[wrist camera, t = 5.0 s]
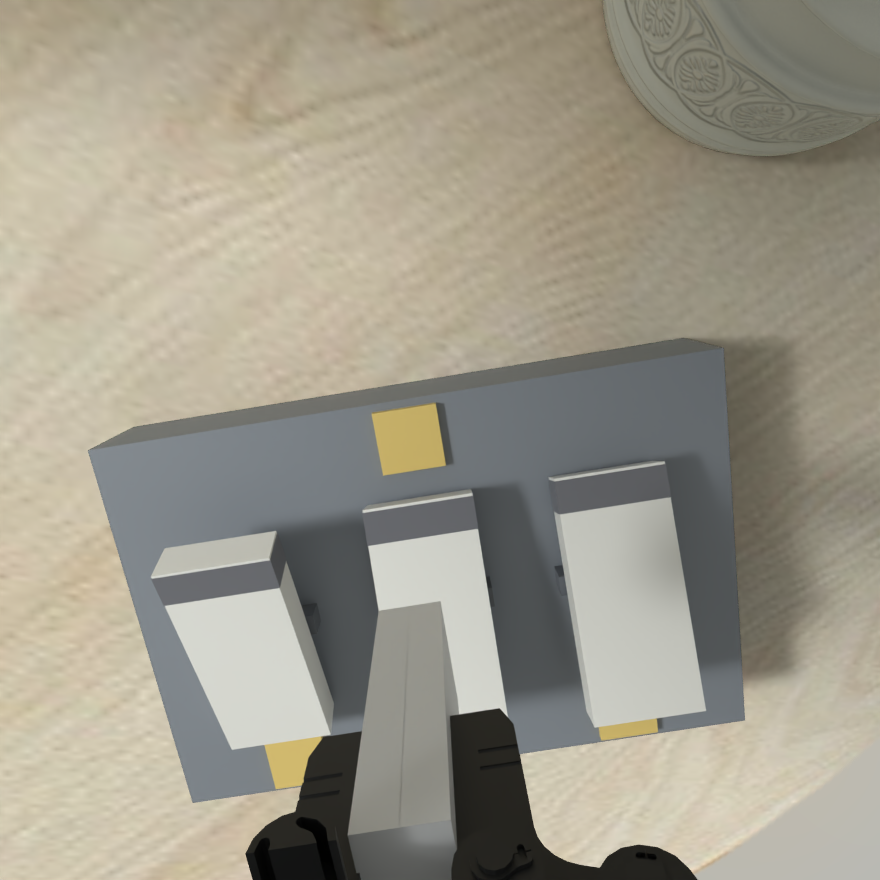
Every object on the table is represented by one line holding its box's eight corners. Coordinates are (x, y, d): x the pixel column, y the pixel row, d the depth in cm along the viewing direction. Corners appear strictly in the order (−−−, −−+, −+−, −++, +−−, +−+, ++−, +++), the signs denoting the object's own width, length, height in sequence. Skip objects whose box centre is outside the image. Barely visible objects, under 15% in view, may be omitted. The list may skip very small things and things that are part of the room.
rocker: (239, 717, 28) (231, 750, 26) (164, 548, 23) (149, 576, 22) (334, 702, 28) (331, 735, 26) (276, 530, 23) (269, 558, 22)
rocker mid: (404, 735, 26) (401, 755, 24) (367, 505, 25) (361, 510, 24) (508, 720, 26) (512, 738, 24) (471, 488, 25) (472, 492, 24)
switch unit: (220, 740, 33) (184, 821, 28) (133, 427, 29) (73, 457, 24) (706, 666, 32) (756, 736, 27) (683, 338, 28) (735, 350, 24)
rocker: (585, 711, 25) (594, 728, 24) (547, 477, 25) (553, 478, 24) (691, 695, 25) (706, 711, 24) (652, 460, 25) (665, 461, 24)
